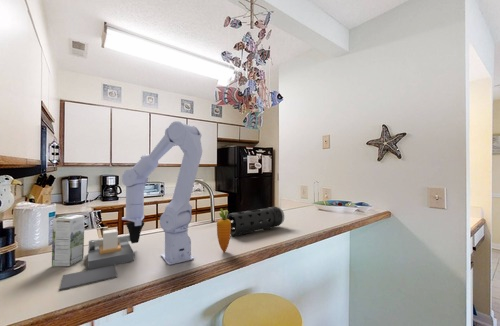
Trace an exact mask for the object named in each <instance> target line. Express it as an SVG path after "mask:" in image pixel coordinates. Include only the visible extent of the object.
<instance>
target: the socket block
mask: <svg viewBox="0 0 500 326" xmlns="http://www.w3.org/2000/svg"><path fill="white" fill-rule="evenodd" d="M129 242H130V241H129ZM129 242H122V243H120V245H121V250H120V251H114V252H109V253H103V254H100V252H99V246H98V247H95V249H94V250H89V246H88V249H87V253H88V254H87V270H91V269H95V268H100V267H105V266H110V265H114V266H115V265H120V264H124V263H125V264H126V263H129V262H134V261H135V251H134V250H133V248H132V246H131V245H130V243H129Z"/></svg>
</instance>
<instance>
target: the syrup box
mask: <svg viewBox="0 0 500 326" xmlns="http://www.w3.org/2000/svg"><path fill="white" fill-rule="evenodd" d="M85 217H86V216H85V215H83V214H68V215H63V216H59V217H54V218H53V219H52V239H51V241H52V243H51V244H52V245H51V267H70V266H73V265H75V264H76V263H79V262H80V261H82V260H84V253H85V251H84V250H85V249H84V248H85V219H86V218H85Z"/></svg>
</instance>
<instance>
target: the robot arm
mask: <svg viewBox="0 0 500 326" xmlns="http://www.w3.org/2000/svg"><path fill="white" fill-rule="evenodd" d="M201 139H202V133H201V132H200V130H199V129H198V128H197V126H195V125H190V124H187V123H183V122H181V121H179V120H177V121H176V120H174V121H172V122H171V123H170V124H169V126H168V127H166V129H165V130H164V135H163V136H162V138H161V139H160V140H159V142H158V143H157V145H155V146H154V148H153V150H152V151H151V152H150V153H149V154H144V155H141V157H140V159H139V160H138V161H137V162H136V164H135V165H133V166H132V167H131V168H130V169H126V170H124V172H122V175H121V181H122V183H123V185H124V186H125V216H123V217H122V216H121V220H122V221H128V222H125V223H124V224H125V225H126V228H127V230H128V233H129V234H128V235H130V240H131V241H130V243H131V244H137V243H139V241H140V237H141V236H140V235H141V232H142V229H143V228H144V226H145V222H144V219H145V214H144V213H145V212H144V211H145V203H144V201H145V198H144V197H145V192H144V191H145V189H146V185H147V183H148V180H149V178H148V177H149V176H150V175H151V174H152V173H153V172H154V170H156V168H158V166H159V160H161V159H162V157H164V156H165V155H166V154H167V153H168V152H169V151H170V150H171V149H172V148H173V147H175V146H178V147H179V148H180V150H181V151H182V153H183V157H182V161H181V164H180V168H179V172H178V176H177V179H176V184H175V187H174V191H173V196H172V199H171V201H170V202H169V203H168V204H167V205H166V206H165V209H164V211H163V213H162V214H161V215H160V216H159V226H160V228H161V230H163V233H164V253H162V254H160V256H161V257H162V259H163V260H164V261H165V262H166V263H167V265H169V266H171V265H174V264H179V263H183V262H188V261H192V260H194V259H195V258H194V256H192V240H191V237H190V236H189V232H188V230H189V224H190V223H191V222H192V218H193V214H192V209H193V206H192V205H191V203H190V200H191V197H192V193H193V188H194V185H195V181H196V177H197V173H198V171H199V167H200V162H201V158H202V155H203V148H202V147H203V146H202V141H201Z"/></svg>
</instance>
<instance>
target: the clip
mask: <svg viewBox="0 0 500 326" xmlns="http://www.w3.org/2000/svg"><path fill="white" fill-rule="evenodd" d="M122 242H131V240H130V235H129V234H127V235H126V234H125V235H118V243H122ZM98 246H103V238H99V239H90V240H89V241H88V247H89V250H94V249H95V247H98Z"/></svg>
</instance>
